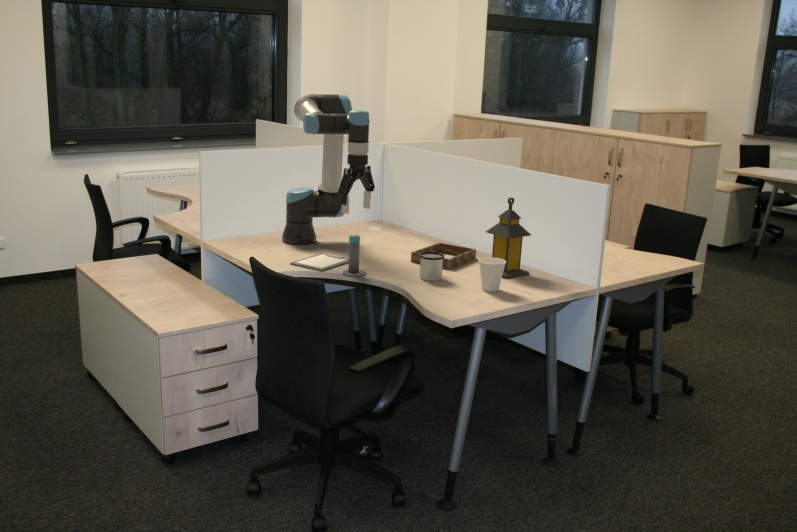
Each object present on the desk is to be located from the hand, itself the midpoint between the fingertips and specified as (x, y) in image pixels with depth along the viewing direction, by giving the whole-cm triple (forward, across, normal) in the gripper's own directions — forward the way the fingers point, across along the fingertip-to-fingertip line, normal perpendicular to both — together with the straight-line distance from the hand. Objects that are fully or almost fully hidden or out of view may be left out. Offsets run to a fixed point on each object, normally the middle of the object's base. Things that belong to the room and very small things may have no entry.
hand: (356, 210), depth 279 cm
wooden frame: (+24, -41, +16) cm, 50 cm away
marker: (+24, 0, 0) cm, 24 cm away
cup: (+24, -15, +50) cm, 58 cm away
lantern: (+24, -41, +44) cm, 65 cm away
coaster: (+24, 0, 0) cm, 24 cm away
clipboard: (+24, -4, -19) cm, 31 cm away
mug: (+24, -15, +26) cm, 39 cm away
